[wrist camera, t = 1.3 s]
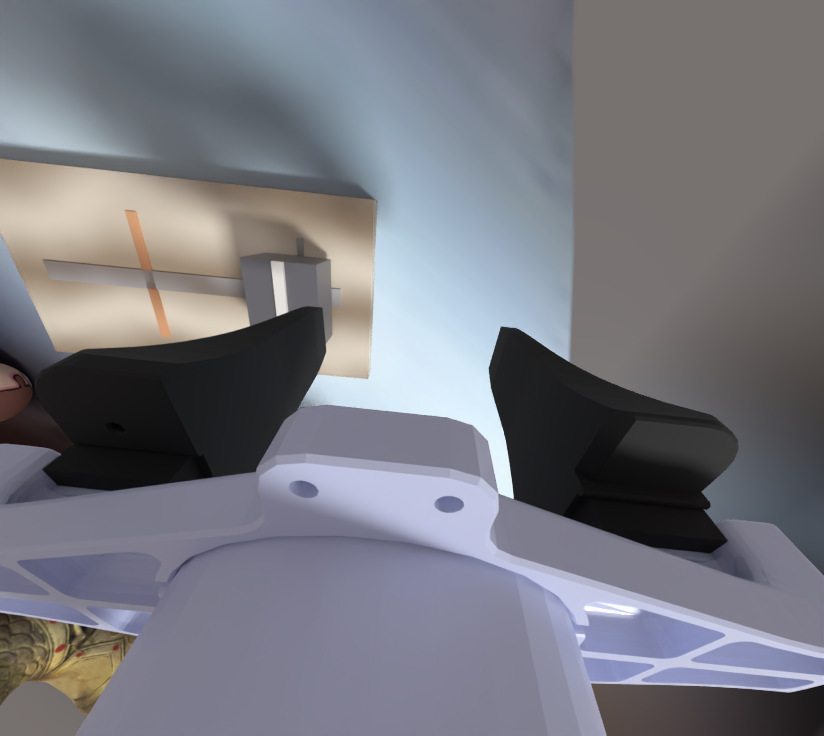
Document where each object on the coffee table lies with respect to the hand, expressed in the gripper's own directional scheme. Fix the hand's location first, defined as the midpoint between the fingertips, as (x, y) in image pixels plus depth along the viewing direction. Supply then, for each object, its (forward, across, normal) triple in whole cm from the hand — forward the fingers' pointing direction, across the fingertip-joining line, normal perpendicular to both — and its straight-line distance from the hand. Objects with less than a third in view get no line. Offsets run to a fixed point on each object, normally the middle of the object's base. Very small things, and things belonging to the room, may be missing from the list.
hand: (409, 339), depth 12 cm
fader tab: (+8, +8, +2) cm, 11 cm away
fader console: (+9, +15, +2) cm, 17 cm away
